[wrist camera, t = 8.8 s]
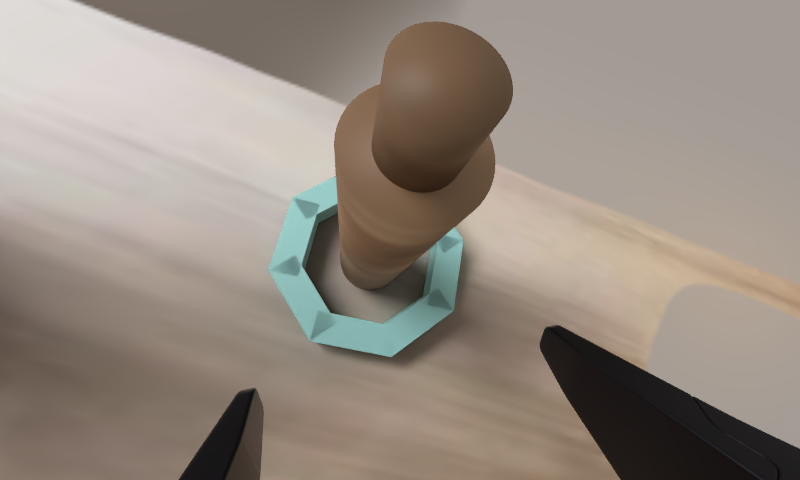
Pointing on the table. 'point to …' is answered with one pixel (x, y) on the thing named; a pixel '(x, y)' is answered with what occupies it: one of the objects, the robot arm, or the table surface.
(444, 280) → the teal faceted ring
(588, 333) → the table surface
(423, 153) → the brown peg
